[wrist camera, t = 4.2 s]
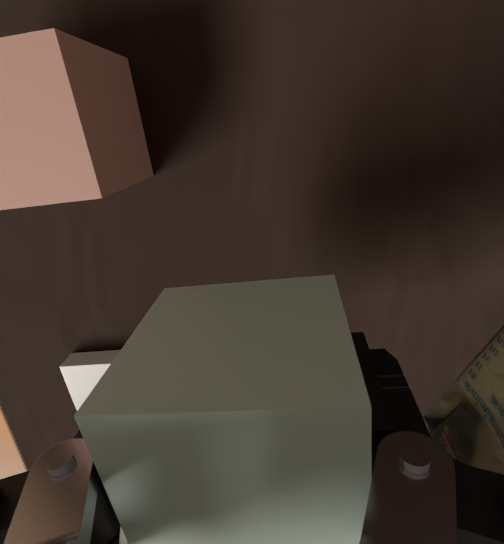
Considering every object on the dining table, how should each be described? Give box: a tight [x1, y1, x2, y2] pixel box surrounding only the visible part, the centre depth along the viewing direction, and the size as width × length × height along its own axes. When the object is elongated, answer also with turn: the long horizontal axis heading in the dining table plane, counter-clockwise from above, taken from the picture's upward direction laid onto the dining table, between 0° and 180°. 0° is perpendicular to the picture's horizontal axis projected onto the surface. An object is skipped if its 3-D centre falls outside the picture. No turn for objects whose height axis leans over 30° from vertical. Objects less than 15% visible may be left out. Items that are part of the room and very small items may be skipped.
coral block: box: [0, 28, 154, 210], centre depth 13 cm, size 4×4×5 cm
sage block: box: [74, 275, 372, 544], centre depth 9 cm, size 5×5×5 cm
